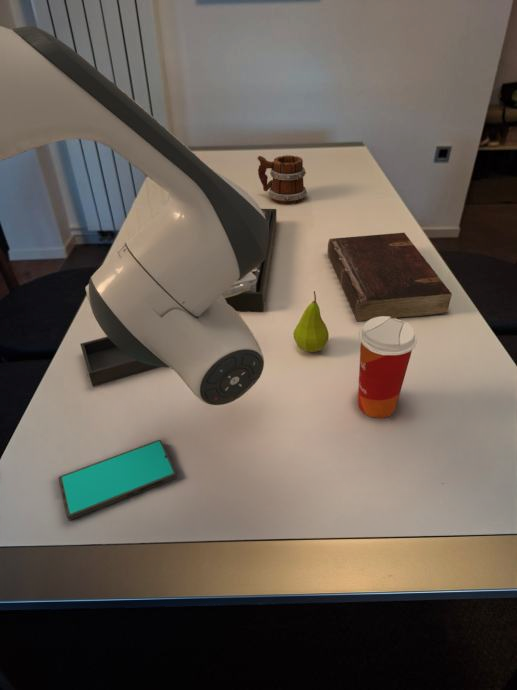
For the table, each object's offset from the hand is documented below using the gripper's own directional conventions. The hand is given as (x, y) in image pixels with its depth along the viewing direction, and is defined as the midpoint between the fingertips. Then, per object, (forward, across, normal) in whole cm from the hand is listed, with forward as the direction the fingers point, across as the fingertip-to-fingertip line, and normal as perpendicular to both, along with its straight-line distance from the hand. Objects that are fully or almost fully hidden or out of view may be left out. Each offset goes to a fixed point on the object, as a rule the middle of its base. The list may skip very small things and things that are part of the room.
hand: (153, 262), depth 69 cm
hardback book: (+15, -52, +26) cm, 60 cm away
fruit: (+1, -26, +25) cm, 36 cm away
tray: (+13, +4, +24) cm, 28 cm away
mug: (+72, -56, +24) cm, 94 cm away
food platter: (+42, -24, +24) cm, 54 cm away
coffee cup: (-17, -28, +26) cm, 42 cm away
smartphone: (-13, +14, +25) cm, 31 cm away
